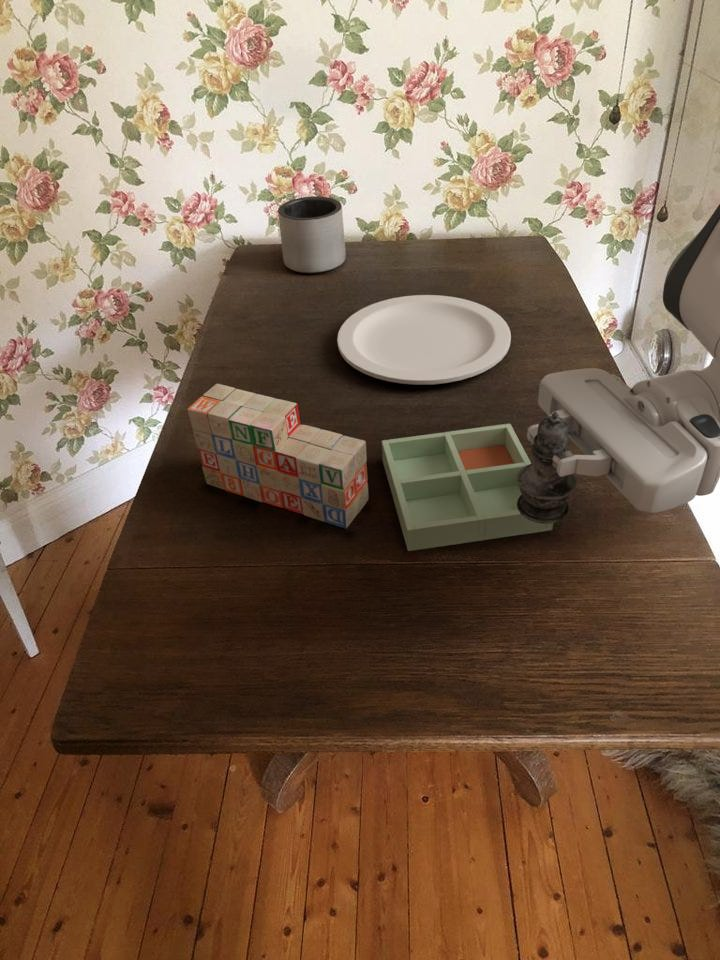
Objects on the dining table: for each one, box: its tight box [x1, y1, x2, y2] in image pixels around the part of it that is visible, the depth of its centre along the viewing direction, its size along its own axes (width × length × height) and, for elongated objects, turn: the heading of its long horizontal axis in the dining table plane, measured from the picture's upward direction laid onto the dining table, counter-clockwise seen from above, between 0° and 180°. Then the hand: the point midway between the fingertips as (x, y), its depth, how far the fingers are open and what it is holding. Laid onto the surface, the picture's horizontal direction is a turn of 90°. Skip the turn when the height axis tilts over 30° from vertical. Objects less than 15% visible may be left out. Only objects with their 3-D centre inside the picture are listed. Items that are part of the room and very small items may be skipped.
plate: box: [336, 294, 512, 386], centre depth 123 cm, size 28×28×2 cm
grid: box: [381, 423, 554, 552], centre depth 94 cm, size 17×17×3 cm
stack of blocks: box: [187, 383, 370, 529], centre depth 93 cm, size 21×6×12 cm, turn 62°
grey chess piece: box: [517, 411, 577, 524], centre depth 75 cm, size 6×6×12 cm
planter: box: [277, 195, 347, 275], centre depth 148 cm, size 13×12×11 cm
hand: (542, 451), depth 73 cm, fingers closed on grey chess piece, 3 cm apart
